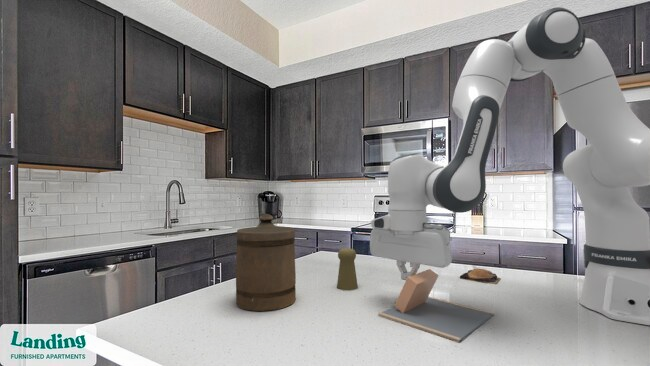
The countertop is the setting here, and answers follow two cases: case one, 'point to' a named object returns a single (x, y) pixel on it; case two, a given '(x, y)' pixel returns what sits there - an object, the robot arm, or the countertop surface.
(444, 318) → the mat
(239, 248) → the wooden container
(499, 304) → the countertop surface
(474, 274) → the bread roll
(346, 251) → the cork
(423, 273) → the tile
